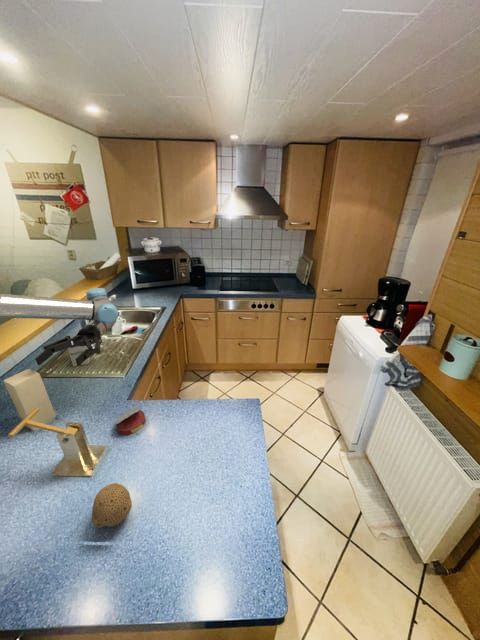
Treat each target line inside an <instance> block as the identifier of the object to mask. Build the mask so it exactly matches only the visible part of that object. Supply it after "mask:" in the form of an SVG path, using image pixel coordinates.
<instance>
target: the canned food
mask: <svg viewBox="0 0 480 640" xmlns="http://www.w3.org/2000/svg"><path fill="white" fill-rule="evenodd" d="M114 424H115V426H116V428H117V431H118V433H120V434H121V435H125V436H127V435H133V434H136V433H137V432H139V431H140V430H142V429H143V428H144V426H145V425H146V414H145V412H144V411H142V406H141V407H140V406H136V407H134V408H130V409H129V410H127V411H124V412H122V413H121V414H120V415H118V417H117V418H116V419H115V420H114Z"/></svg>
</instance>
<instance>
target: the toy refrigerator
mask: <svg viewBox="0 0 480 640" xmlns="http://www.w3.org/2000/svg"><path fill="white" fill-rule="evenodd" d="M3 383H4V386H5V388H6V390H7V392H8V394H9V396H10V398H11V401H12V402H13V405H14V407H15V409H16V411H17V413H18V415H19V417H20V419H21V421H22V420H23V419H24V418H25V417H26V416H27V415H28V414H29V413H30V412H32V411H33V410H34V409H35V408H36V407H38V408H39V409H40V410H39V411H38V413H37V414H36V415H35V416H34V417H33V418H32V419H31V421H35V422H39V423H43V424H48V423H49V422H50V421H52V420H54V419H55V418H57V414H56V412H55V409H54V407H53V405H52V401H51V399H50V397H49V394H48V392H47V389H46V387H45V386H46V385H45V384H44V382H43V379H42V376H41V374H40V373H39V372H37V371H35V370H33V369H31V368H27V369H24V370H23V371H21V372H18V373H16V374H14V375H12V376H10V377H8V378H5V379H3ZM24 427H26V428H28V429H29V430H31V431H33V432H35V431H37V430H38V429H39V428H36V427H32V426H28V425H25V426H24Z"/></svg>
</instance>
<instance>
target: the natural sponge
mask: <svg viewBox="0 0 480 640" xmlns="http://www.w3.org/2000/svg"><path fill="white" fill-rule="evenodd" d="M130 494H131V493H130V492H129V490H128V489H127V488H126V486H125V485H123V484H121V483H117V482H114V483H113V482H112V483H110V484H108V485H105V486H104V487H102V488H101V489H100V490H99V491H98V492H97V494H96V495H95V498H94V500H93V503H92V510H91V523H92V525H93V526H94V527H96V528H104V527H108V528H109V527H111V528H112V527H115V526H118V525H119V524H121V523H122V522H123V521H124V520H125V519H126V518H127V517H128V515H129V514H130V512H131V510H132V506H133V505H132V504H133V502H132V499H131V495H130Z"/></svg>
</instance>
